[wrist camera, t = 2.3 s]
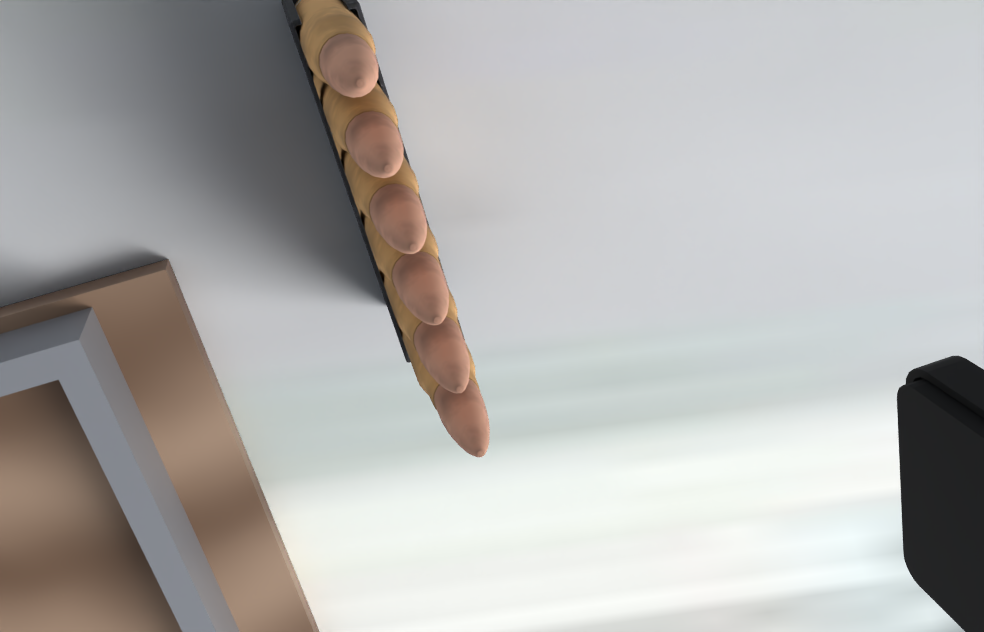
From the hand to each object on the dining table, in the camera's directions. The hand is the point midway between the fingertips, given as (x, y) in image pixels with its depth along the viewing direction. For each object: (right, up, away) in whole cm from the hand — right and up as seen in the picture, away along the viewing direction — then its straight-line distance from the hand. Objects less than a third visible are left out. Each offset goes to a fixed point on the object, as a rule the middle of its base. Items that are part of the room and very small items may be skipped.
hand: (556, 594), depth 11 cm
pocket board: (-16, -4, +22) cm, 28 cm away
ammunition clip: (-5, +9, +20) cm, 22 cm away
